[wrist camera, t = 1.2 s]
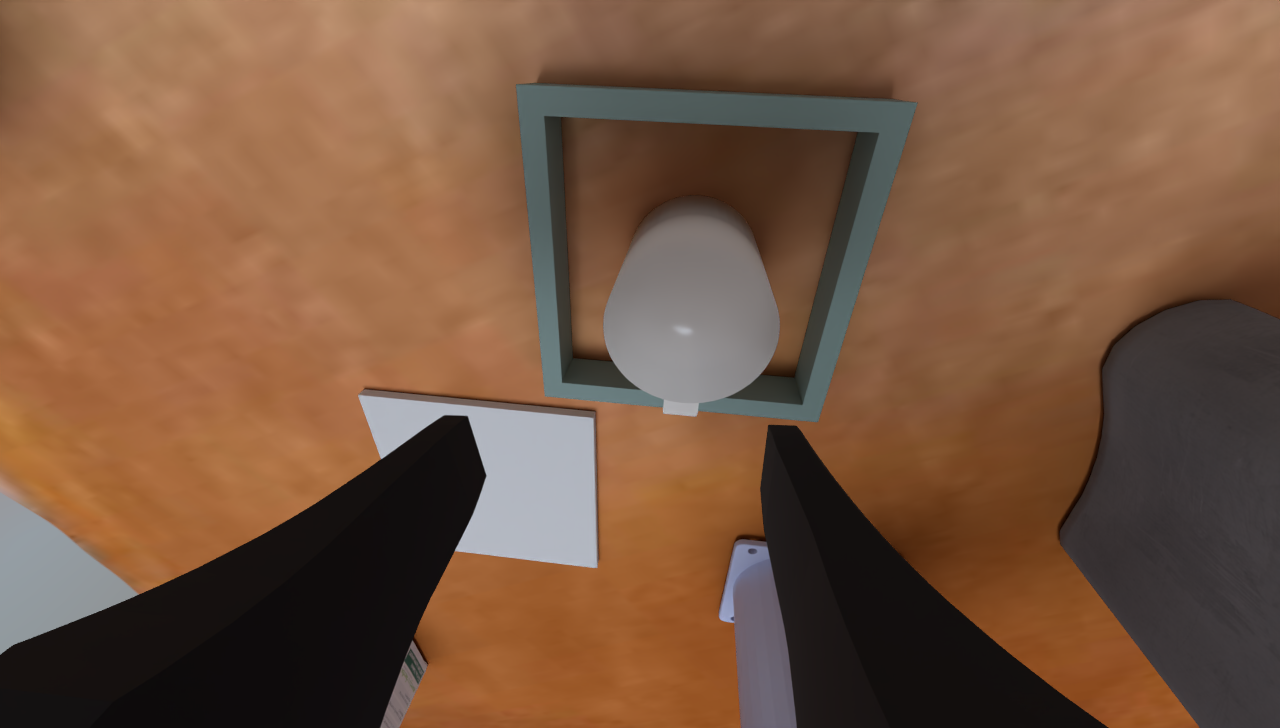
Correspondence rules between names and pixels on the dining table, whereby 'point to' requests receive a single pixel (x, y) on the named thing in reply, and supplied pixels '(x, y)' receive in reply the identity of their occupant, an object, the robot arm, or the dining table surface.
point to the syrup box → (405, 688)
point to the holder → (870, 117)
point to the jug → (692, 306)
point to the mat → (512, 472)
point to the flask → (1192, 506)
